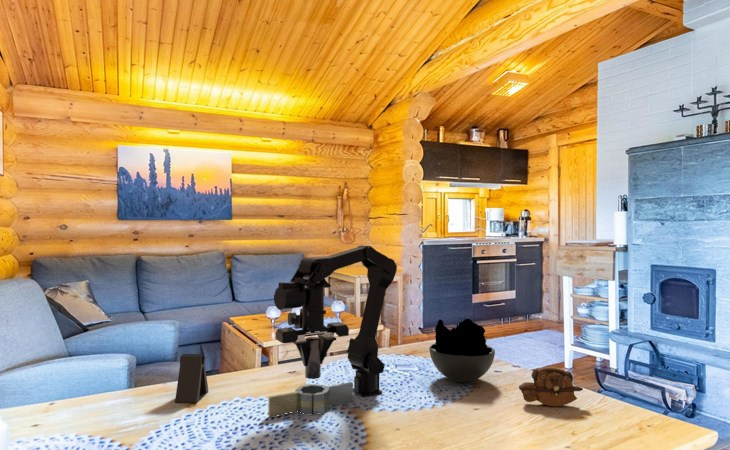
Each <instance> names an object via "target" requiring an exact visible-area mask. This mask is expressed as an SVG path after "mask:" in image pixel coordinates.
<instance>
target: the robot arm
mask: <svg viewBox="0 0 730 450" xmlns="http://www.w3.org/2000/svg"><path fill="white" fill-rule="evenodd" d="M358 263H361V265H362V266H363V267H364V268H366V270H367V274H366V276H367V279H368V280H367V281H368V285H369V287H368V290H367V291H368V292H367V296H366V300H365V305H364V309H363V314H362V319H361V323H360V327H359V331H358V334H357V335H356V337H355V338H351V337H350V339H349V341H348V343H349V344H348V348H347V350H346V353H347V360H348V361H349V363H350V365H351V369H353V370H355V375H354V378H353V381H354V382H353V392H355V393H357V394H358V395H360V396H361V397H362V398H363V397H364V398H365V397H369V396H373V395H374V394H375V395H379V393H380V394H383V390H381V389H380V375H381V374H382V373H384V370H385V364H384V362H383V361H382V360H381V359H380V358H379V347H378V342H377V333H378V328H379V325H380V324H379V323H380V318H381V314H382V309H383V305H384V300H385V296H386V293H387V289H388V287H389V286H390V285H391V284H392V283H393V281H394V279H395V276H396V273H397V272H398V271H397V270H398V265H397V264H396V262H395V260H394V259H393V258H389V257H388V256H386V255H385V254H383V253H381V252H379V251H377V250H376V249H375V248H374V247H373V246H370V245H361V244H360V245H358V246H356V247H353V248H350V249H347V250H344V251H340V252H337V253H334V254H330V255H327V256H311V257H309V256H308V257H304V258H301V259H300V262H299V264H298V268H297V270H296V271H295V272H294V275H293V276H292V278H291V279H290V281H289V282H284V281H283V282H282V281H280V282H278V286H277V287H276V289H275V290H274V291H275V292H274V295H273V302H274V305H275V308H276V309H277V310H279V311H282V310H284V311H285V310H289V309H290V310H291V309H296V308H297V309H298V308H300V309H299V314H297V312H289V313H288V314H287V324H288V326H287V327H280V328H278V329H277V330H276V331H275V340H276V341H278V342H280V343H281V344H291V343H292V344H293V345H295V346H296V348H297V350H298V353H299V356H300V358H301V361H302V365H303V366H304V367H306V366H307V358H308V342H307V341H305V338H307V337H316V336H317V337H320V338H321V365H322V364H323V363H324V361H325V358H326V355H327V353H328V352H329V349H330V347H331V346H332V344H333V343H334V341H337V337H335V335H337V336H338V337H347V336H349V335H350V328H349V326H348V325H347V324H345V323H343V322H339V321H337V322H336V321H335V322H328V323H327V325H325V315H326V314H327V310H326V309H325V304H324V303H325V289H328V288H331V287H332V285H331V284H330V283H329V282H328V281H327V279H326V278H329V277H330V276H332V275H333V273H334V272H335V271H337V270H340V269H342V268H346V267H349V266H352V265H355V264H358ZM291 326H294V328H293V327H291ZM375 395H374V396H375Z"/></svg>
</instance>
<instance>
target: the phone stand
mask: <svg viewBox="0 0 730 450" xmlns="http://www.w3.org/2000/svg"><path fill="white" fill-rule="evenodd" d="M205 360H206V355H205V354H201V353H199V354H197V353H195V354H194V353H183V354H181V355H180V357H179V370H178V377H177V384H176V385H177V386H176V391H175V399H174V403H175V404H177V403H178V404H198V403H199V402H200V401H201V400H202V399H203V398H204V397H205V396H206V395H207V394H208V393H209V386H208V385H209V384H208V378H207V371H206V363H205V362H206V361H205Z"/></svg>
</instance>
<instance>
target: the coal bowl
mask: <svg viewBox="0 0 730 450" xmlns="http://www.w3.org/2000/svg"><path fill="white" fill-rule="evenodd" d="M434 328H435V329H434V332H435V336H434V337H435V338H434V339H435V343H432V344H431V345H429V348H428V349H429V355H430V356H429V357H430V358H431V361H432V363H433V365H434V367H435V368H436V370H437V371H438V372H439V373H440V374H442V376H444V377H445V378H447V379H449V380H452V381H455V382H460V383H467V382H469V383H470V382H472V381H476V380H478V379H480V378H481V377H483V376H484V375H485V374H487V372H488V371H490V368H491V367H492V365H493V362H494V359H495V355H496V350H495V349H494V348H493V347H492V346H489V345H487V339H486V337H485V332H486V329H485V327H483V326H482V325H479V324H477V323H475V322H474V321H473V320H471V318H465V319H463V320H462V321H459V322H458V325H457V326H456V327H452V328H451V329H449V328H448V327H447V326H446V325H444V320H442V319H441V318H440V319H438V321H437V323H436V326H435V327H434Z"/></svg>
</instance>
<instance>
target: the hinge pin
mask: <svg viewBox="0 0 730 450" xmlns="http://www.w3.org/2000/svg"><path fill="white" fill-rule="evenodd" d="M305 341H307V342H308V358H307V366H306V367H305V366H304V367H305V368H304V369H305V370H304V371H305V372H304V373H305V375H304V376H305V377H304V378H305V379H307V380H316V379H320V378H321V375H322V373H321V372H322V371H321V370H322V369H321V368H322V366H321V365H322V364H321V338H320V337H318V336H307V337H305Z"/></svg>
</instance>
